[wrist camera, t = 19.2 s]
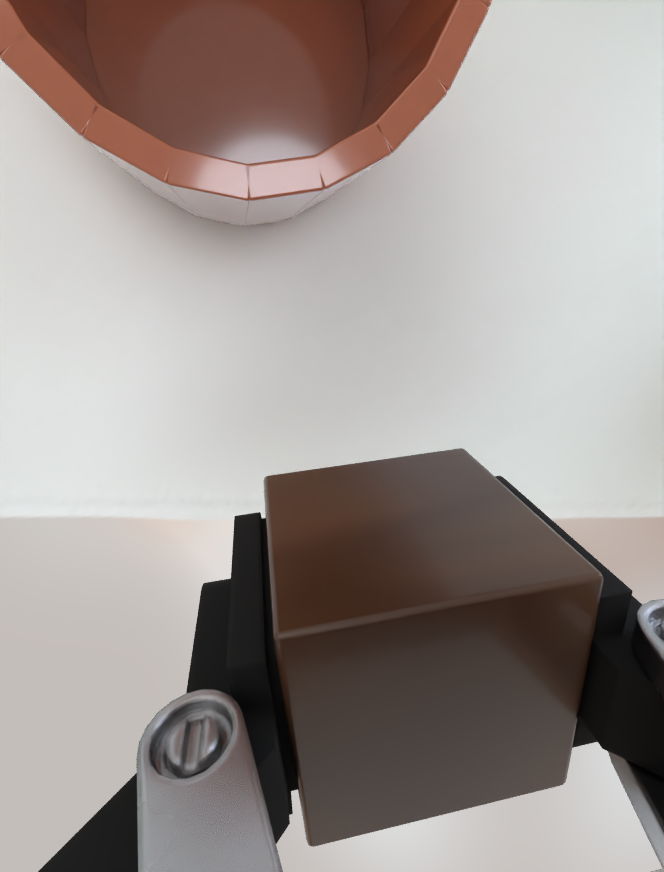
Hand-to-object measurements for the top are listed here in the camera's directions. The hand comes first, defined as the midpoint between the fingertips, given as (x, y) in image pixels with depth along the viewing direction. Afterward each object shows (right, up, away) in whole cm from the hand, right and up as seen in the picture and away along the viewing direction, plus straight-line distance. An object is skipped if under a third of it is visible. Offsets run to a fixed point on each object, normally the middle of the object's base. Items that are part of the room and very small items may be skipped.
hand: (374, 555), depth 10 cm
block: (0, 0, 0) cm, 0 cm away
